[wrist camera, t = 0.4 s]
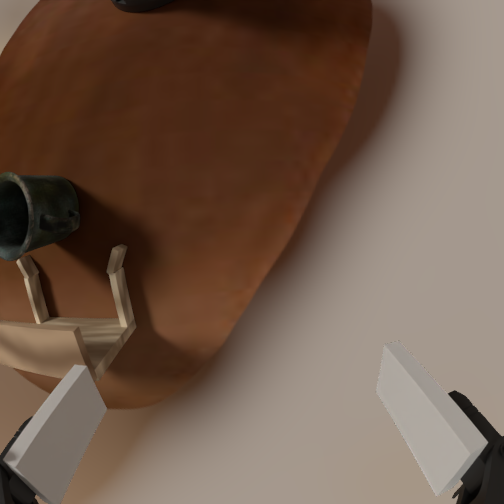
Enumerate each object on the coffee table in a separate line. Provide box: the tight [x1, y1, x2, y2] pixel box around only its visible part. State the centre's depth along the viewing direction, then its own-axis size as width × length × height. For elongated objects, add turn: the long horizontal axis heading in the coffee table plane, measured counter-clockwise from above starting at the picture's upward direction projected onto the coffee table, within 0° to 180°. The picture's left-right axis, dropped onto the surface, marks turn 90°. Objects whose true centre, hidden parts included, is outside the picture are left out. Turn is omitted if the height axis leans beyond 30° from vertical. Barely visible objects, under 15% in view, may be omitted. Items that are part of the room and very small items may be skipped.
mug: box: [0, 172, 80, 261], centre depth 29 cm, size 11×15×12 cm
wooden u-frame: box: [0, 244, 136, 382], centre depth 30 cm, size 13×21×15 cm, turn 94°
